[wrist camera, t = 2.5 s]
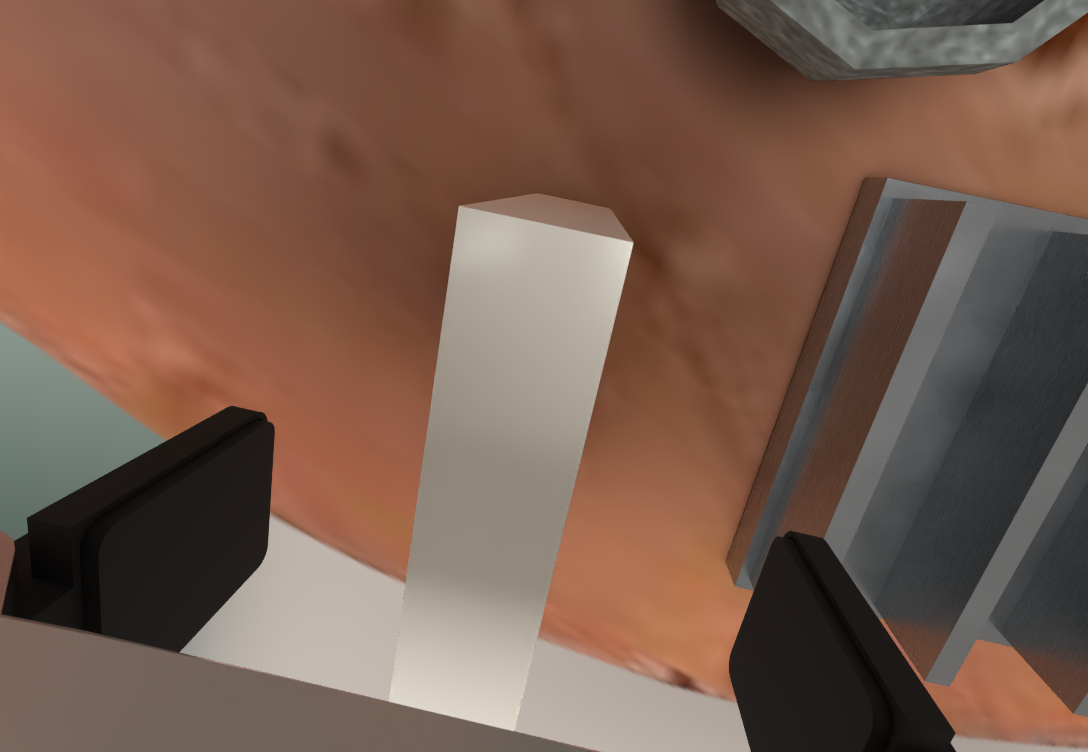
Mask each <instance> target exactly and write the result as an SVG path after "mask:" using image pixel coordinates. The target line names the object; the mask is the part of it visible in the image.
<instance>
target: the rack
mask: <svg viewBox="0 0 1088 752" xmlns="http://www.w3.org/2000/svg"><path fill="white" fill-rule="evenodd" d="M788 531H794V532H798V533H803V534H807V535H812V536H816V537H821V538H823V539H824V540H825V541H826V542H827V543H828V545H829V546H830V548H831V549H832V551H833V552H834V554H835V555H836V557H837V558H838V560H839V561H840V563H841V564H842V565H843V567H844V568H845V570H846V571H847V573H848V574H849V576H850V577H851V579H852V580H853V582H854V583H855V585H856V586H857V588H858V589H859V591H860V592H861V594H862V595H863V597H864V598H865V600H866V601H867V603H868V604H869V605H870V607H871V608H872V610H873V611H874V613H875V614H876V616H877V617H878V618H883V619H884V621H885V622H886V624H887V625H888V627H889V628H890V630H891V631H892V633H893V634H894V636H895V637H896V639H897V640H898V642H899V643H900V645H901V646H902V648H903V649H904V651H905V652H906V654H907V655H908V657H909V658H910V660H911V661H912V663H913V664H914V666H915V667H916V669H917V670H918V672H919V673H920V675H921V676H922V678H923V679H924V681H926V682H931V683H935V684H940V685H945V686H949V687H950V685H951V683H952V681H953V680H954V678H955V676H956V674H957V672H958V671H959V669H960V667H961V665H962V664H963V662H964V660H965V658H966V657H967V655H968V653H969V651H970V650H971V648H972V646H973V644H974V643H975V641H976V639H979V640H984V641H988V642H993V643H997V644H1002V645H1007V646H1011V647H1013V648H1014V649H1015V650H1016V651H1017V652H1018V653H1019V654H1020V655H1021V656H1022V657H1023V659H1024V660H1025V661H1026V662H1027V663H1028V664H1029V665H1030V666H1031V667H1032V669H1033V670H1034V671H1035V672H1036V673H1037V674H1038V675H1039V676H1040V677H1041V678H1042V680H1043V681H1044V682H1045V683H1046V684H1047V685H1048V686H1049V687H1050V688H1051V689H1052V691H1053V692H1054V693H1055V694H1056V695H1057V696H1058V697H1059V698H1060V699H1061V700H1062V702H1063V703H1064V704H1065V705H1066V706H1067V707H1068V708H1069V709H1070V710H1071V712H1072V713H1073V714H1077V715H1082V716H1086V717H1088V219H1083V218H1079V217H1074V216H1069V215H1064V214H1059V213H1054V212H1050V211H1045V210H1040V209H1035V208H1030V207H1026V206H1021V205H1016V204H1011V203H1006V202H1001V201H997V200H992V199H987V198H982V197H977V196H973V195H968V194H963V193H958V192H953V191H948V190H944V189H939V188H934V187H929V186H924V185H919V184H915V183H910V182H905V181H900V180H895V179H891V178H865V180H864V182H863V185H862V188H861V191H860V194H859V196H858V199H857V202H856V205H855V207H854V210H853V213H852V216H851V218H850V221H849V224H848V227H847V229H846V232H845V235H844V238H843V240H842V243H841V246H840V249H839V251H838V254H837V257H836V260H835V262H834V265H833V268H832V271H831V274H830V276H829V279H828V282H827V285H826V287H825V290H824V293H823V296H822V298H821V301H820V304H819V307H818V309H817V312H816V315H815V318H814V320H813V323H812V326H811V329H810V331H809V334H808V337H807V340H806V342H805V345H804V348H803V351H802V353H801V356H800V359H799V362H798V365H797V367H796V370H795V373H794V376H793V378H792V381H791V384H790V387H789V389H788V392H787V395H786V398H785V400H784V403H783V406H782V409H781V411H780V414H779V417H778V420H777V422H776V425H775V428H774V431H773V433H772V436H771V439H770V442H769V445H768V447H767V450H766V453H765V456H764V458H763V461H762V464H761V467H760V469H759V472H758V475H757V478H756V480H755V483H754V486H753V489H752V491H751V494H750V497H749V500H748V502H747V505H746V508H745V511H744V513H743V516H742V519H741V522H740V525H739V527H738V530H737V533H736V536H735V538H734V541H733V544H732V547H731V549H730V552H729V555H728V558H727V560H726V563H727V566H728V569H729V572H730V575H731V577H732V580H733V583H734V586H736V587H740V588H745V589H749V590H754V589H755V587H756V584H757V581H758V579H759V576H760V573H761V571H762V568H763V565H764V563H765V560H766V557H767V555H768V552H769V549H770V546H771V544H772V542H773V540H774V539H775V537H777V536H780V537H783V536H784V535H785V534H786V533H787V532H788Z"/></svg>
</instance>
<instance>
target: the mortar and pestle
mask: <svg viewBox="0 0 1088 752" xmlns="http://www.w3.org/2000/svg"><path fill="white" fill-rule="evenodd" d="M716 2H717V6H718V7H719V8H720V9H721V10H723V11H724V12H725V13H726V14H728V15H729V16H730V17H731V18H733V19H734V20H735V21H736V22H738V23H739V24H740V25H741V26H743V27H744V28H745V29H746V30H748V31H749V32H750V33H751V34H753V35H754V36H755V37H756V38H758V39H759V40H760V41H761V42H763V43H764V44H765V45H766V46H768V47H769V48H770V49H771V50H773V51H774V52H775V53H776V54H778V55H779V56H780V57H781V58H783V59H784V60H785V61H786V62H788V63H789V64H790V65H791V66H793V67H794V68H795V69H796V70H798V71H799V72H800V73H801V74H803V75H804V76H805V77H806V78H808V79H809V80H852V79H874V78H896V77H919V76H941V75H963V74H976V73H980V72H983V71H987V70H990V69H994V68H997V67H1001V66H1004V65H1008V64H1011V63H1015V62H1017V61H1019V60H1020V59H1022V58H1023V57H1025V56H1026V55H1027V54H1029V53H1030V52H1032V51H1033V50H1035V49H1036V48H1037V47H1039V46H1040V45H1042V44H1043V43H1045V42H1046V41H1047V40H1049V39H1050V38H1052V37H1053V36H1055V35H1056V34H1057V33H1059V32H1060V31H1062V30H1063V29H1065V28H1066V27H1067V26H1069V25H1070V24H1072V23H1073V22H1075V21H1076V20H1077V19H1079V18H1080V17H1082V16H1083V15H1085V14H1086V13H1087V12H1088V0H716Z"/></svg>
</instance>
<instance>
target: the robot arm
mask: <svg viewBox="0 0 1088 752" xmlns="http://www.w3.org/2000/svg"><path fill="white" fill-rule="evenodd" d="M274 435H275V429H274V425H273V424H272V423H271V422H267V417H266V415H265V414H264V413H262V412H257V411H253V410H248V409H244V408H239V407H235V406H230V407H227V408H225V409H224V410H222V411H220V412H218V413H216V414H215V415H213V416H211V417H209V418H207V419H206V420H204V421H202V422H200V423H198V424H196V425H195V426H193V427H191V428H189V429H187V430H186V431H184V432H182V433H180V434H178V435H176V436H175V437H173V438H171V439H169V440H167V441H166V442H164V443H162V444H160V445H159V446H157V447H155V448H153V449H151V450H149V451H147V452H146V453H144V454H142V455H140V456H139V457H137V458H135V459H133V460H131V461H129V462H127V463H126V464H124V465H122V466H120V467H118V468H117V469H115V470H113V471H111V472H109V473H108V474H106V475H104V476H102V477H100V478H98V479H97V480H95V481H93V482H91V483H90V484H88V485H86V486H84V487H82V488H80V489H79V490H77V491H75V492H73V493H71V494H69V495H68V496H66V497H64V498H62V499H60V500H59V501H57V502H55V503H53V504H51V505H49V506H48V507H46V508H44V509H42V510H40V511H39V512H37V513H35V514H33V515H31V516H30V517H28V518H27V524H28V533H27V534H26V535H24V536H22V537H21V538H19V539H17V540H15V541H14V540H13V539H12V538H11V537H9V536H8V535H7V534H6V533H4V532H1V531H0V752H600V751H596V750H591V749H587V748H583V747H578V746H574V745H570V744H566V743H562V742H557V741H553V740H549V739H545V738H541V737H536V736H532V735H528V734H524V733H519V732H515V731H511V730H507V729H502V728H498V727H494V726H490V725H485V724H481V723H477V722H473V721H469V720H464V719H460V718H456V717H452V716H447V715H443V714H439V713H435V712H430V711H426V710H422V709H418V708H414V707H409V706H405V705H401V704H397V703H393V702H388V701H384V700H380V699H376V698H371V697H367V696H363V695H359V694H355V693H350V692H346V691H342V690H338V689H333V688H329V687H325V686H321V685H317V684H312V683H308V682H304V681H300V680H296V679H291V678H287V677H283V676H279V675H274V674H270V673H266V672H262V671H257V670H253V669H248V668H244V667H240V666H236V665H231V664H227V663H222V662H218V661H214V660H210V659H205V658H201V657H197V656H192V655H188V654H183V653H179V652H180V651H181V650H182V649H183V648H184V647H185V646H186V645H187V644H188V642H189V641H190V640H191V639H192V638H193V637H194V636H195V635H196V634H197V633H198V632H199V631H200V630H201V629H202V627H203V626H204V625H205V624H206V623H207V622H208V621H209V620H210V619H211V618H212V617H213V616H214V615H215V613H216V612H217V611H218V610H219V609H220V608H221V607H222V606H223V605H224V604H225V603H226V602H227V601H228V600H229V598H230V597H231V596H232V595H233V594H234V593H235V592H236V591H237V590H238V589H239V588H240V587H241V586H242V584H243V583H244V582H245V581H246V580H247V579H248V578H249V577H250V576H251V575H252V574H253V572H254V571H256V569H257V568H258V567H259V566H260V565H261V563H262V561H263V560H264V557H265V555H266V552H267V547H268V533H269V517H270V501H271V484H272V468H273V451H274ZM729 673H730V678H731V682H732V685H733V689H734V693H735V696H736V700H737V703H738V707H739V710H740V714H741V718H742V721H743V725H744V728H745V732H746V736H747V739H748V743H749V746H750V750H751V752H956V751H955V749H954V748H953V746H952V745H951V743H950V742H951V740H952V739H953V737H954V735H955V731H954V730H953V729H952V727H951V726H950V724H949V723H948V721H947V720H946V718H945V717H944V715H943V714H942V712H941V711H940V709H939V708H938V706H937V705H936V703H935V702H934V700H933V699H932V697H931V696H930V694H929V693H928V691H927V690H926V688H925V687H924V686H923V684H922V683H921V681H920V680H919V678H918V677H917V675H916V674H915V672H914V671H913V669H912V668H911V666H910V665H909V663H908V662H907V660H906V659H905V657H904V656H903V654H902V653H901V651H900V650H899V648H898V647H897V646H896V644H895V643H894V641H893V640H892V638H891V637H890V635H889V634H888V632H887V631H886V629H885V628H884V626H883V625H882V623H881V622H880V620H879V619H878V617H877V616H876V614H875V613H874V611H873V610H872V608H871V607H870V605H869V604H868V603H867V601H866V600H865V598H864V597H863V595H862V594H861V592H860V591H859V589H858V588H857V586H856V585H855V583H854V582H853V580H852V579H851V577H850V576H849V574H848V573H847V571H846V570H845V568H844V567H843V565H842V564H841V563H840V561H839V560H838V558H837V557H836V555H835V554H834V552H833V551H832V549H831V548H830V546H829V545H828V543H827V542H826V541H825V540H824V539H823V538H821V537H816V536H812V535H807V534H803V533H798V532H794V531H788V532H787V533H786V534H785V535H784V536H783V537H780V536H777V537H775V539H774V540H773V542H772V544H771V546H770V549H769V552H768V555H767V557H766V560H765V563H764V565H763V568H762V571H761V573H760V576H759V579H758V581H757V584H756V587H755V589H754V592H753V595H752V598H751V600H750V603H749V606H748V608H747V611H746V614H745V616H744V619H743V622H742V624H741V627H740V630H739V632H738V635H737V638H736V641H735V643H734V646H733V649H732V651H731V655H730V660H729Z"/></svg>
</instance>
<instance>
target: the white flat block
mask: <svg viewBox="0 0 1088 752" xmlns="http://www.w3.org/2000/svg"><path fill="white" fill-rule="evenodd" d="M633 243H634V242H633V241H632V239H631V238H630V236H629V235H628V233H627V232H626V231H625V229H624V228H623V226H622V225H621V223H620V222H619V220H618V219H617V218H616V216H615V215H614V213H613V212H612V210H611V209H610V208H606V207H601V206H597V205H592V204H587V203H582V202H578V201H573V200H568V199H563V198H559V197H554V196H549V195H544V194H539V193H535V194H529V195H523V196H517V197H510V198H504V199H498V200H492V201H486V202H479V203H473V204H467V205H461V206H459V210H458V217H457V224H456V231H455V238H454V245H453V252H452V259H451V266H450V273H449V280H448V287H447V294H446V301H445V308H444V315H443V322H442V329H441V336H440V343H439V351H438V358H437V365H436V372H435V379H434V386H433V393H432V400H431V407H430V414H429V421H428V428H427V435H426V442H425V449H424V456H423V463H422V470H421V477H420V484H419V491H418V499H417V506H416V513H415V520H414V527H413V534H412V541H411V548H410V555H409V562H408V569H407V576H406V583H405V591H404V597H403V604H402V611H401V618H400V625H399V632H398V639H397V647H396V654H395V662H394V668H393V675H392V683H391V689H390V696H389V702H393V703H397V704H401V705H405V706H409V707H414V708H418V709H422V710H426V711H430V712H435V713H439V714H443V715H447V716H452V717H456V718H460V719H464V720H469V721H473V722H477V723H481V724H485V725H490V726H494V727H498V728H502V729H507V730H511V731H514V730H515V727H516V723H517V718H518V714H519V710H520V706H521V702H522V698H523V693H524V690H525V686H526V682H527V677H528V673H529V669H530V665H531V661H532V657H533V653H534V649H535V645H536V641H537V637H538V632H539V628H540V624H541V620H542V616H543V612H544V608H545V604H546V600H547V596H548V591H549V587H550V583H551V579H552V575H553V571H554V567H555V563H556V559H557V555H558V551H559V546H560V542H561V538H562V534H563V530H564V526H565V522H566V518H567V514H568V510H569V505H570V501H571V497H572V493H573V489H574V485H575V481H576V477H577V473H578V469H579V465H580V460H581V456H582V452H583V448H584V444H585V440H586V436H587V432H588V428H589V424H590V419H591V415H592V411H593V407H594V403H595V399H596V395H597V391H598V387H599V383H600V378H601V374H602V370H603V366H604V362H605V358H606V354H607V350H608V346H609V342H610V338H611V333H612V329H613V325H614V321H615V317H616V313H617V309H618V305H619V301H620V297H621V292H622V288H623V284H624V280H625V276H626V272H627V268H628V264H629V260H630V256H631V251H632V247H633Z"/></svg>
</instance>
